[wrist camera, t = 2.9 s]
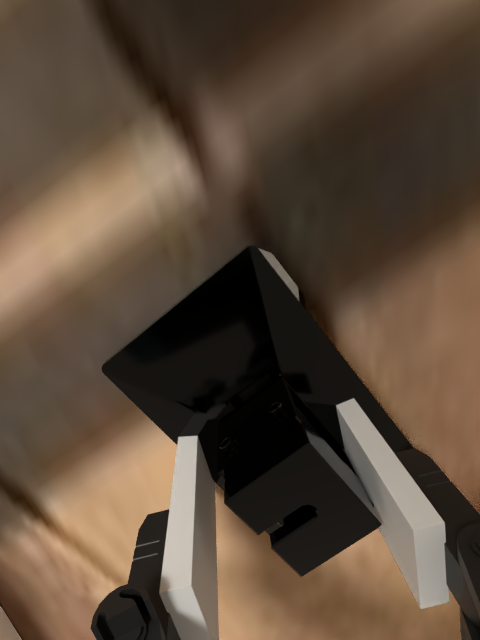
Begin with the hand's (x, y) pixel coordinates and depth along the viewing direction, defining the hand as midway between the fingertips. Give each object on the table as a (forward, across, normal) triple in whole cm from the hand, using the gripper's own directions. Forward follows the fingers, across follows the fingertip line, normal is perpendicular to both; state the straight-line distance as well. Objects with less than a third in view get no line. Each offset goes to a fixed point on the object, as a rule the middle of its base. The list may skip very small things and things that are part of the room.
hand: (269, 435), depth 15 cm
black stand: (+2, 0, 0) cm, 2 cm away
